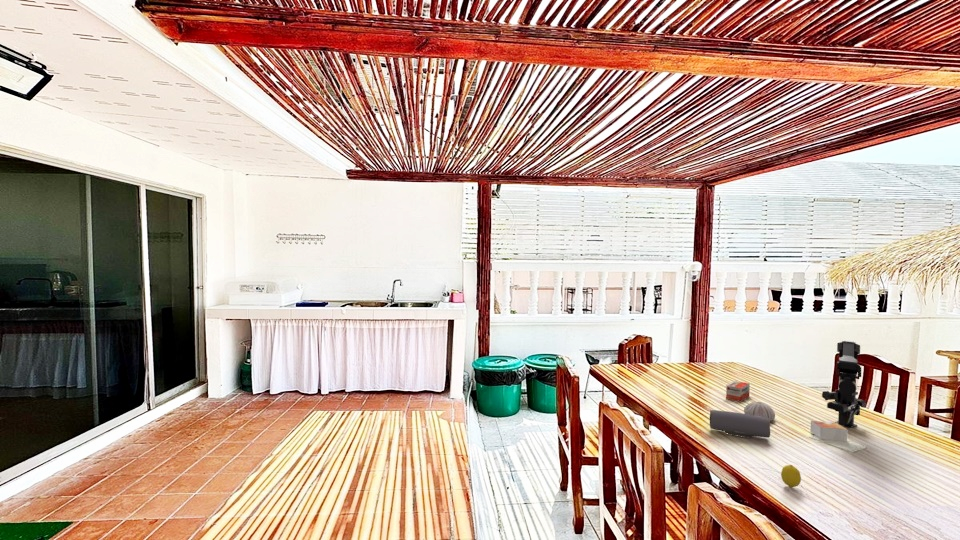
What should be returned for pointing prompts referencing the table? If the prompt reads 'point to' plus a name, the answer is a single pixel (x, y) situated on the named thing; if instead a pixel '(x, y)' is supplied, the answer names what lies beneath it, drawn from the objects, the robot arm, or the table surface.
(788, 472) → the lemon
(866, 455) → the table surface
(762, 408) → the sea urchin shell
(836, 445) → the mat
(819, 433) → the small box
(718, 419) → the bluetooth speaker
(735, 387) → the medicine box
